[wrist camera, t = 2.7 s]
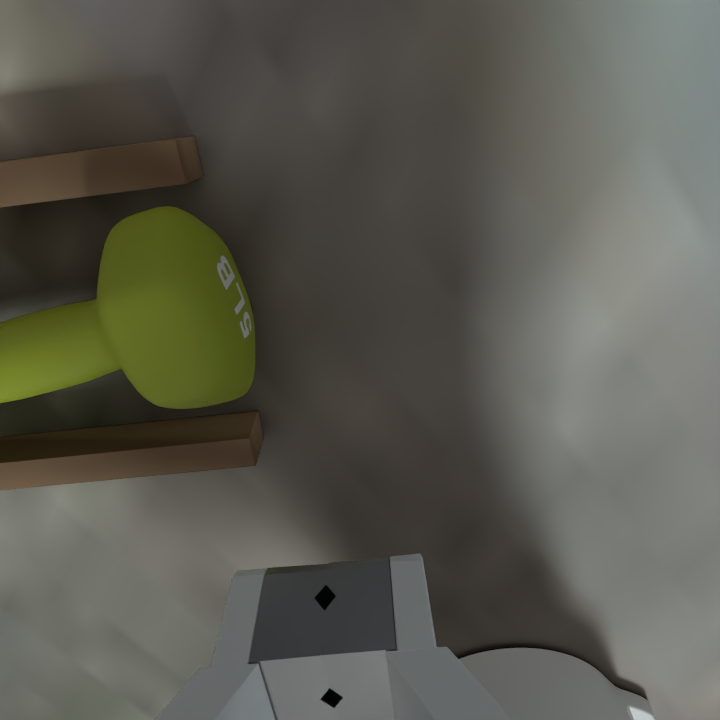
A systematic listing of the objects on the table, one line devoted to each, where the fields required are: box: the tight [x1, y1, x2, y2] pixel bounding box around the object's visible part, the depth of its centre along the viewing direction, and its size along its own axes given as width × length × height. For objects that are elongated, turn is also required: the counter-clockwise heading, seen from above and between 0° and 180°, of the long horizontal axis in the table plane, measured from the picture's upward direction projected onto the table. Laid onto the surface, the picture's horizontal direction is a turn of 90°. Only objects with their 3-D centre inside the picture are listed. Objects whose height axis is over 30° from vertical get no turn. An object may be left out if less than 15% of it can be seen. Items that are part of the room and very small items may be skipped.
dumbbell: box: [0, 206, 255, 409], centre depth 21 cm, size 16×8×7 cm, turn 105°
